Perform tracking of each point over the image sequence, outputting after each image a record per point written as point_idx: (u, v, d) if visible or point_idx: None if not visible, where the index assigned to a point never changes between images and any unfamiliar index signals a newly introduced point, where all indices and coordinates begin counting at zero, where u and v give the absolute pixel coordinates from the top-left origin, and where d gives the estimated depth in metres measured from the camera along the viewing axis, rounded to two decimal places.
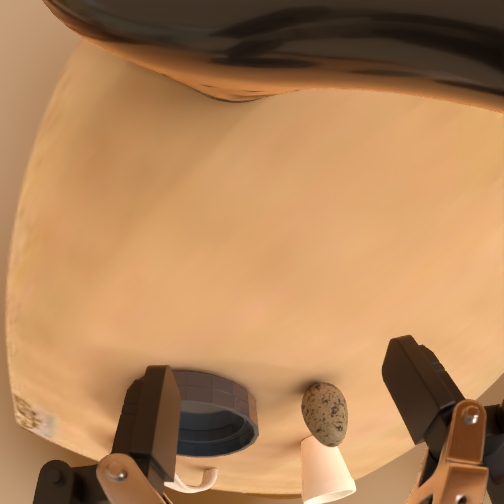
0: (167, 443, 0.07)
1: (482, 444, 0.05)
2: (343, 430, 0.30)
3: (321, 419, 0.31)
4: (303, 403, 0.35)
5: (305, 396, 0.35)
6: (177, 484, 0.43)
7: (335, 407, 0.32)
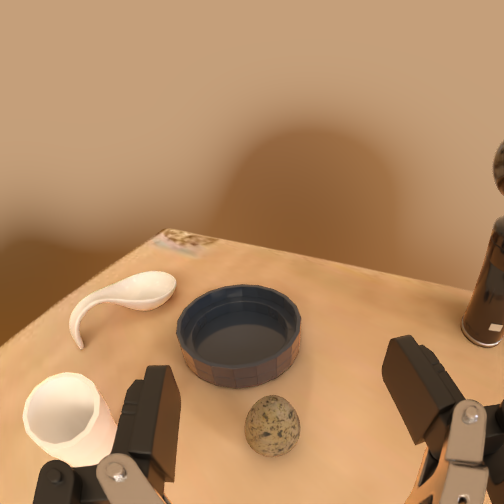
0: (167, 443, 0.07)
1: (482, 444, 0.05)
2: (287, 418, 0.25)
3: None
4: None
5: None
6: (105, 296, 0.48)
7: (299, 424, 0.27)
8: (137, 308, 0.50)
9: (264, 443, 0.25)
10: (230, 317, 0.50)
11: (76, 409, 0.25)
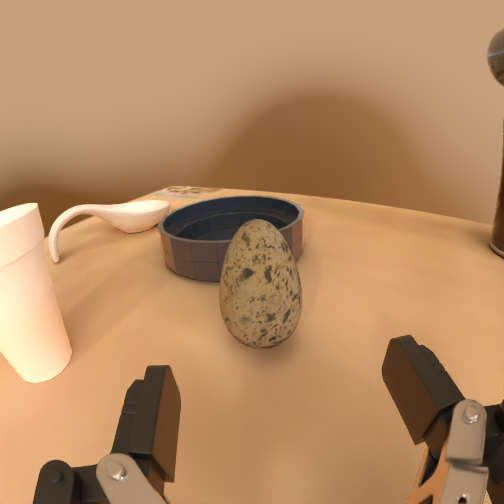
0: (167, 443, 0.07)
1: (482, 444, 0.05)
2: (279, 247, 0.19)
3: None
4: None
5: None
6: None
7: (299, 281, 0.20)
8: (124, 224, 0.45)
9: (244, 297, 0.18)
10: (224, 230, 0.44)
11: None
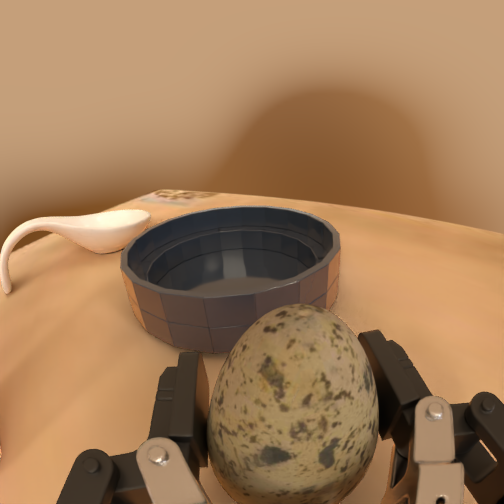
0: (202, 427, 0.08)
1: (444, 443, 0.05)
2: (360, 389, 0.06)
3: None
4: None
5: None
6: None
7: None
8: (89, 243, 0.33)
9: (263, 488, 0.06)
10: (221, 255, 0.32)
11: None
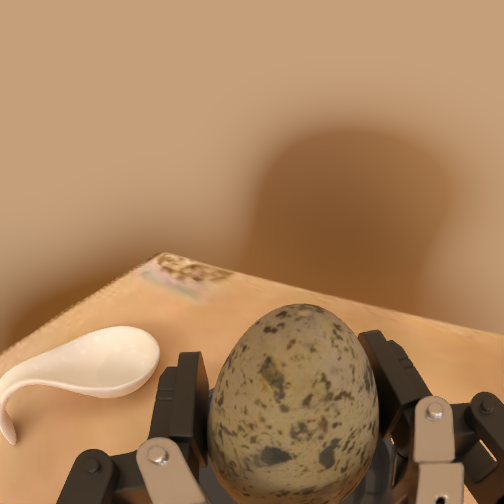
0: (202, 428, 0.08)
1: (444, 443, 0.05)
2: (361, 389, 0.06)
3: None
4: None
5: None
6: (39, 373, 0.23)
7: None
8: None
9: (263, 488, 0.06)
10: None
11: None
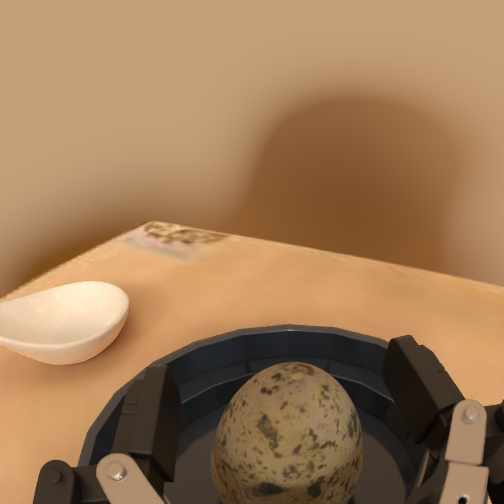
0: (167, 443, 0.07)
1: (482, 444, 0.05)
2: (344, 437, 0.07)
3: None
4: None
5: None
6: None
7: None
8: (37, 360, 0.17)
9: None
10: None
11: None
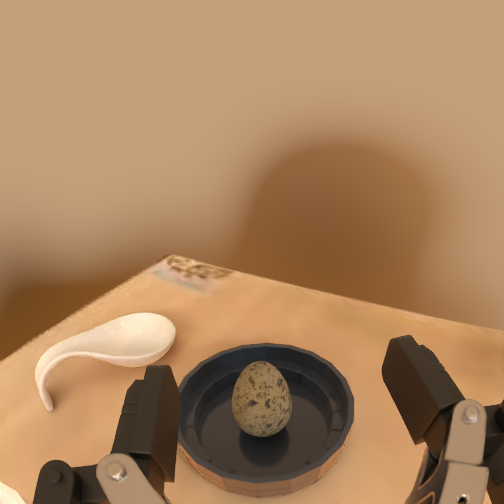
0: (167, 443, 0.07)
1: (482, 444, 0.05)
2: (276, 385, 0.24)
3: None
4: None
5: None
6: (79, 347, 0.32)
7: (290, 398, 0.26)
8: (122, 365, 0.35)
9: (250, 415, 0.24)
10: None
11: None
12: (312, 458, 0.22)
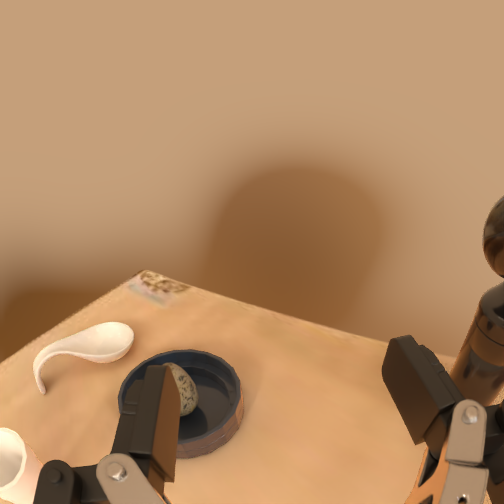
0: (167, 443, 0.07)
1: (482, 444, 0.05)
2: (177, 380, 0.35)
3: None
4: None
5: None
6: (64, 348, 0.44)
7: (192, 390, 0.37)
8: (94, 361, 0.46)
9: None
10: None
11: (20, 456, 0.21)
12: None
